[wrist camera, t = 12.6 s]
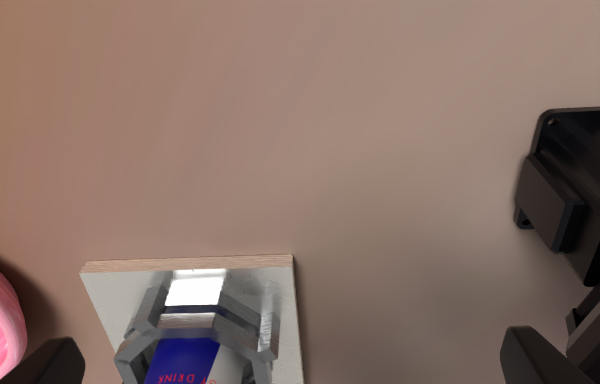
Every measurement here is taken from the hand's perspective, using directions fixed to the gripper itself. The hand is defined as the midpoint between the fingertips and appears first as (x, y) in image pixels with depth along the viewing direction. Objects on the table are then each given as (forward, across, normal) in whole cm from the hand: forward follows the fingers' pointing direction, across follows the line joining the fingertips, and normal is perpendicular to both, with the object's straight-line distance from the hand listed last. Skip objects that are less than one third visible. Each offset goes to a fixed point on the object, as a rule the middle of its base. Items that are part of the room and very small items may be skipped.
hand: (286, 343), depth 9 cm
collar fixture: (+13, +7, +15) cm, 21 cm away
